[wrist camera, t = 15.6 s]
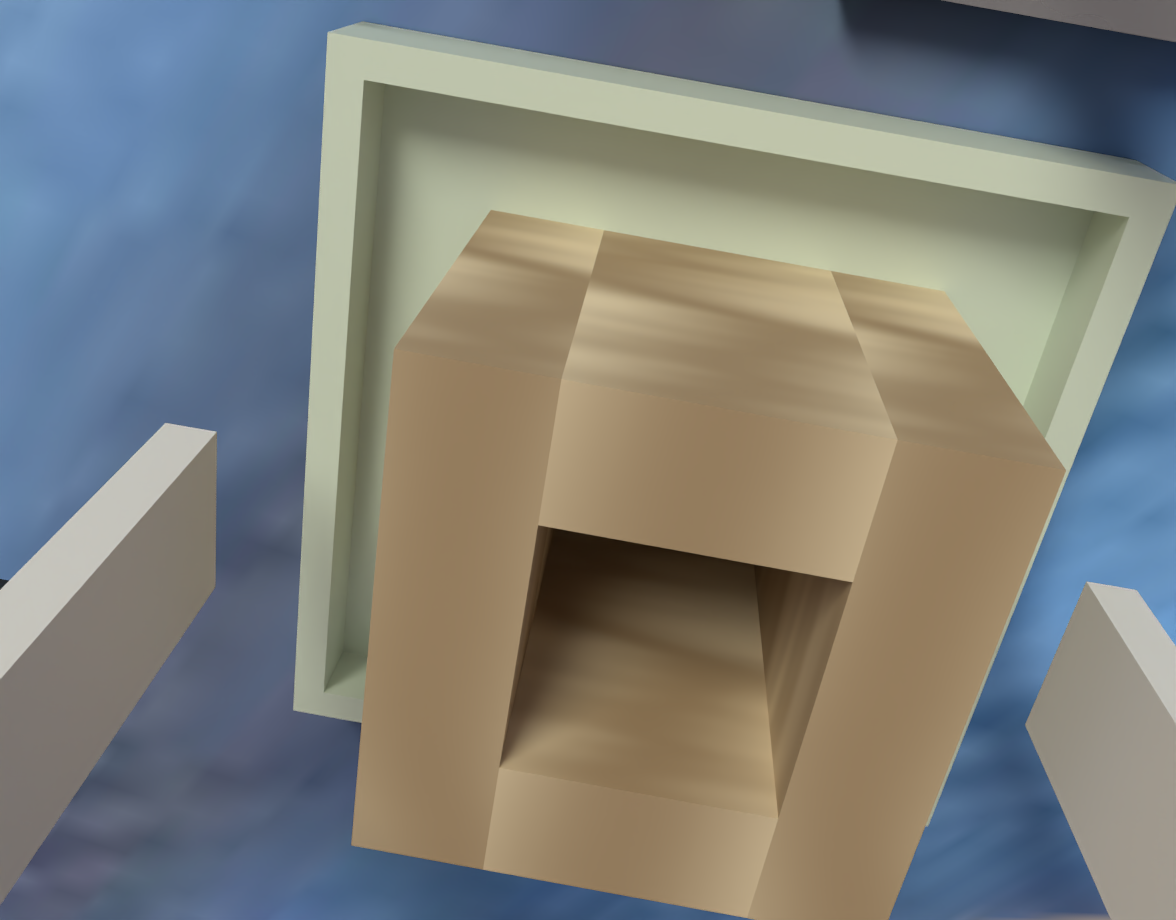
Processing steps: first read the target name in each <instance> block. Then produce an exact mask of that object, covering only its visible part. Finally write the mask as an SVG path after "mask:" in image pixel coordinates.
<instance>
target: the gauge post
mask: <svg viewBox="0 0 1176 920" xmlns="http://www.w3.org/2000/svg"><path fill="white" fill-rule="evenodd" d="M943 1H948V2H954V3H960V4H965V5H971V6H976V7H982V8H988V9H993V10H999V11H1004V12H1010V13H1016V14H1021V15H1027V16H1032V17H1038V18H1044V19H1049V20H1055V21H1060V22H1066V23H1072V24H1077V25H1083V26H1088V27H1094V28H1100V29H1105V30H1111V31H1116V32H1122V33H1128V34H1133V35H1139V36H1144V37H1150V38H1156V39H1161V40H1167V41H1172V42H1176V0H943Z"/></svg>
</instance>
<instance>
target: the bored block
mask: <svg viewBox="0 0 1176 920" xmlns="http://www.w3.org/2000/svg"><path fill="white" fill-rule="evenodd" d="M1065 472H1066V469H1065V468H1064V466H1063V465H1062V463H1061V462H1060V460H1059V459H1058V457H1057V456H1056V454H1055V453H1054V452H1053V450H1052V449H1051V447H1050V446H1049V444H1048V443H1047V441H1046V440H1045V438H1044V437H1043V435H1042V434H1041V432H1040V431H1039V429H1038V428H1037V427H1036V425H1035V424H1034V422H1033V421H1032V419H1031V418H1030V416H1029V415H1028V413H1027V412H1026V410H1025V409H1024V407H1023V406H1022V404H1021V403H1020V402H1019V400H1018V399H1017V397H1016V396H1015V394H1014V393H1013V391H1012V390H1011V388H1010V387H1009V385H1008V384H1007V382H1006V381H1005V379H1004V378H1003V377H1002V375H1001V374H1000V372H999V371H998V369H997V368H996V366H995V365H994V363H993V362H992V360H991V359H990V357H989V356H988V354H987V353H986V352H985V350H984V349H983V347H982V346H981V344H980V343H979V341H978V340H977V338H976V337H975V335H974V334H973V332H972V331H971V329H970V328H969V327H968V325H967V324H966V322H965V321H964V319H963V318H962V316H961V315H960V313H959V312H958V310H957V309H956V307H955V306H954V304H953V303H952V302H951V300H950V299H949V297H948V296H947V294H946V293H945V291H940V290H934V289H929V288H923V287H918V286H912V285H907V284H901V283H896V282H890V281H884V280H879V279H873V278H868V277H862V276H857V275H851V274H845V273H840V272H834V271H829V270H823V269H818V268H812V267H807V266H801V265H795V264H790V263H784V262H779V261H773V260H768V259H762V258H756V257H751V256H745V255H740V254H734V253H729V252H723V251H718V250H712V249H706V248H701V247H695V246H690V245H684V244H679V243H673V242H667V241H662V240H656V239H651V238H645V237H640V236H634V235H629V234H623V233H617V232H612V231H606V230H601V229H595V228H590V227H584V226H578V225H573V224H567V223H562V222H556V221H551V220H545V219H540V218H534V217H528V216H523V215H517V214H512V213H506V212H501V211H495V210H490V212H489V213H488V215H487V216H486V218H485V219H484V220H483V222H482V223H481V225H480V226H479V228H478V229H477V230H476V232H475V233H474V235H473V236H472V238H471V239H470V240H469V242H468V243H467V245H466V246H465V248H464V249H463V251H462V252H461V253H460V255H459V256H458V258H457V259H456V261H455V262H454V263H453V265H452V266H451V268H450V269H449V271H448V272H447V273H446V275H445V276H444V278H443V279H442V281H441V282H440V283H439V285H438V286H437V288H436V289H435V291H434V292H433V293H432V295H431V296H430V298H429V299H428V301H427V302H426V303H425V305H424V306H423V308H422V309H421V311H420V312H419V314H418V315H417V316H416V318H415V319H414V321H413V322H412V324H411V325H410V326H409V328H408V329H407V331H406V332H405V334H404V335H403V336H402V338H401V339H400V341H399V342H398V344H397V345H396V346H395V348H394V353H393V364H392V376H391V388H390V399H389V411H388V423H387V434H386V446H385V458H384V469H383V481H382V493H381V504H380V516H379V528H378V539H377V551H376V563H375V574H374V586H373V598H372V609H371V621H370V633H369V644H368V656H367V668H366V679H365V691H364V703H363V714H362V726H361V738H360V749H359V761H358V773H357V784H356V796H355V808H354V819H353V831H352V843H351V845H352V846H357V847H363V848H368V849H374V850H379V851H385V852H390V853H395V854H401V855H406V856H412V857H417V858H423V859H428V860H434V861H439V862H444V863H450V864H455V865H461V866H466V867H472V868H477V869H483V870H488V871H493V872H499V873H504V874H510V875H515V876H521V877H526V878H532V879H537V880H543V881H548V882H553V883H559V884H564V885H570V886H575V887H581V888H586V889H592V890H597V891H602V892H608V893H613V894H619V895H624V896H630V897H635V898H641V899H646V900H651V901H657V902H662V903H668V904H673V905H679V906H684V907H690V908H695V909H701V910H706V911H711V912H717V913H722V914H728V915H733V916H739V917H744V918H750V919H755V920H888V919H889V917H890V914H891V911H892V909H893V906H894V904H895V901H896V899H897V896H898V894H899V891H900V889H901V886H902V884H903V881H904V879H905V876H906V874H907V871H908V869H909V866H910V864H911V861H912V858H913V856H914V853H915V851H916V848H917V846H918V843H919V841H920V838H921V836H922V833H923V831H924V828H925V826H926V823H927V821H928V818H929V816H930V813H931V811H932V808H933V805H934V803H935V800H936V798H937V795H938V793H939V790H940V788H941V785H942V783H943V780H944V778H945V775H946V773H947V770H948V768H949V765H950V763H951V760H952V757H953V755H954V752H955V750H956V747H957V745H958V742H959V740H960V737H961V735H962V732H963V730H964V727H965V725H966V722H967V720H968V717H969V715H970V712H971V710H972V707H973V704H974V702H975V699H976V697H977V694H978V692H979V689H980V687H981V684H982V682H983V679H984V677H985V674H986V672H987V669H988V667H989V664H990V662H991V659H992V657H993V654H994V651H995V649H996V646H997V644H998V641H999V639H1000V636H1001V634H1002V631H1003V629H1004V626H1005V624H1006V621H1007V619H1008V616H1009V614H1010V611H1011V609H1012V606H1013V604H1014V601H1015V598H1016V596H1017V593H1018V591H1019V588H1020V586H1021V583H1022V581H1023V578H1024V576H1025V573H1026V571H1027V568H1028V566H1029V563H1030V561H1031V558H1032V556H1033V553H1034V551H1035V548H1036V545H1037V543H1038V540H1039V538H1040V535H1041V533H1042V530H1043V528H1044V525H1045V523H1046V520H1047V518H1048V515H1049V513H1050V510H1051V508H1052V505H1053V503H1054V500H1055V498H1056V495H1057V492H1058V490H1059V487H1060V485H1061V482H1062V480H1063V477H1064V475H1065Z"/></svg>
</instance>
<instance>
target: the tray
mask: <svg viewBox="0 0 1176 920" xmlns="http://www.w3.org/2000/svg"><path fill="white" fill-rule="evenodd" d="M1175 205H1176V181H1174V180H1172V179H1170V178H1168V177H1166V176H1165V175H1163V174H1161V173H1159V172H1157V171H1155V170H1153V169H1152V168H1150V167H1148V166H1146V165H1144V164H1142V163H1140V162H1139V161H1137V160H1132V159H1127V158H1121V157H1116V156H1110V155H1105V154H1099V153H1093V152H1088V151H1082V150H1077V149H1071V148H1066V147H1060V146H1054V145H1049V144H1043V143H1038V142H1032V141H1027V140H1021V139H1015V138H1010V137H1004V136H999V135H993V134H987V133H982V132H976V131H971V130H965V129H960V128H954V127H948V126H943V125H937V124H932V123H926V122H921V121H915V120H909V119H904V118H898V117H893V116H887V115H881V114H876V113H870V112H865V111H859V110H854V109H848V108H842V107H837V106H831V105H826V104H820V103H815V102H809V101H803V100H798V99H792V98H787V97H781V96H776V95H770V94H764V93H759V92H753V91H748V90H742V89H736V88H731V87H725V86H720V85H714V84H709V83H703V82H697V81H692V80H686V79H681V78H675V77H670V76H664V75H658V74H653V73H647V72H642V71H636V70H630V69H625V68H619V67H614V66H608V65H603V64H597V63H591V62H586V61H580V60H575V59H569V58H564V57H558V56H552V55H547V54H541V53H536V52H530V51H525V50H519V49H513V48H508V47H502V46H497V45H491V44H485V43H480V42H474V41H469V40H463V39H458V38H452V37H446V36H441V35H435V34H430V33H424V32H419V31H413V30H407V29H402V28H396V27H391V26H385V25H379V24H374V23H368V22H359V23H356V24H353V25H350V26H346V27H343V28H340V29H336V30H333V31H330V32H328V37H327V57H326V76H325V96H324V116H323V136H322V155H321V175H320V195H319V214H318V234H317V254H316V273H315V293H314V313H313V332H312V352H311V372H310V392H309V411H308V431H307V451H306V470H305V490H304V510H303V529H302V549H301V569H300V588H299V608H298V628H297V648H296V667H295V687H294V707H293V710H294V711H300V712H305V713H311V714H316V715H322V716H327V717H332V718H338V719H343V720H349V721H354V722H360V723H362V714H363V703H364V691H365V679H366V668H367V656H368V644H369V633H370V621H371V609H372V598H373V586H374V574H375V563H376V551H377V539H378V528H379V516H380V504H381V493H382V481H383V469H384V458H385V446H386V434H387V423H388V411H389V399H390V388H391V376H392V364H393V353H394V348H395V346H396V345H397V344H398V342H399V341H400V339H401V338H402V336H403V335H404V334H405V332H406V331H407V329H408V328H409V326H410V325H411V324H412V322H413V321H414V319H415V318H416V316H417V315H418V314H419V312H420V311H421V309H422V308H423V306H424V305H425V303H426V302H427V301H428V299H429V298H430V296H431V295H432V293H433V292H434V291H435V289H436V288H437V286H438V285H439V283H440V282H441V281H442V279H443V278H444V276H445V275H446V273H447V272H448V271H449V269H450V268H451V266H452V265H453V263H454V262H455V261H456V259H457V258H458V256H459V255H460V253H461V252H462V251H463V249H464V248H465V246H466V245H467V243H468V242H469V240H470V239H471V238H472V236H473V235H474V233H475V232H476V230H477V229H478V228H479V226H480V225H481V223H482V222H483V220H484V219H485V218H486V216H487V215H488V213H489V212H490V210H495V211H501V212H506V213H512V214H517V215H523V216H528V217H534V218H540V219H545V220H551V221H556V222H562V223H567V224H573V225H578V226H584V227H590V228H595V229H601V230H606V231H612V232H617V233H623V234H629V235H634V236H640V237H645V238H651V239H656V240H662V241H667V242H673V243H679V244H684V245H690V246H695V247H701V248H706V249H712V250H718V251H723V252H729V253H734V254H740V255H745V256H751V257H756V258H762V259H768V260H773V261H779V262H784V263H790V264H795V265H801V266H807V267H812V268H818V269H823V270H829V271H834V272H840V273H845V274H851V275H857V276H862V277H868V278H873V279H879V280H884V281H890V282H896V283H901V284H907V285H912V286H918V287H923V288H929V289H934V290H940V291H945V293H946V294H947V296H948V297H949V299H950V300H951V302H952V303H953V304H954V306H955V307H956V309H957V310H958V312H959V313H960V315H961V316H962V318H963V319H964V321H965V322H966V324H967V325H968V327H969V328H970V329H971V331H972V332H973V334H974V335H975V337H976V338H977V340H978V341H979V343H980V344H981V346H982V347H983V349H984V350H985V352H986V353H987V354H988V356H989V357H990V359H991V360H992V362H993V363H994V365H995V366H996V368H997V369H998V371H999V372H1000V374H1001V375H1002V377H1003V378H1004V379H1005V381H1006V382H1007V384H1008V385H1009V387H1010V388H1011V390H1012V391H1013V393H1014V394H1015V396H1016V397H1017V399H1018V400H1019V402H1020V403H1021V404H1022V406H1023V407H1024V409H1025V410H1026V412H1027V413H1028V415H1029V416H1030V418H1031V419H1032V421H1033V422H1034V424H1035V425H1036V427H1037V428H1038V429H1039V431H1040V432H1041V434H1042V435H1043V437H1044V438H1045V440H1046V441H1047V443H1048V444H1049V446H1050V447H1051V449H1052V450H1053V452H1054V453H1055V454H1056V456H1057V457H1058V459H1059V460H1060V462H1061V463H1062V465H1063V466H1064V468H1065V469H1066V472H1065V475H1064V477H1063V480H1062V482H1061V485H1060V487H1059V490H1058V492H1057V495H1056V498H1055V500H1054V503H1053V505H1052V508H1051V510H1050V513H1049V515H1048V518H1047V520H1046V523H1045V525H1044V528H1043V530H1042V533H1041V535H1040V538H1039V540H1038V543H1037V545H1036V548H1035V551H1034V553H1033V556H1032V558H1031V561H1030V563H1029V566H1028V568H1027V571H1026V573H1025V576H1024V578H1023V581H1022V583H1021V586H1020V588H1019V591H1018V593H1017V596H1016V598H1015V601H1014V604H1013V606H1012V609H1011V611H1010V614H1009V616H1008V619H1007V621H1006V624H1005V626H1004V629H1003V631H1002V634H1001V636H1000V639H999V641H998V644H997V646H996V649H995V651H994V654H993V657H992V659H991V662H990V664H989V667H988V669H987V672H986V674H985V677H984V679H983V682H982V684H981V687H980V689H979V692H978V694H977V697H976V699H975V702H974V704H973V707H972V710H971V712H970V715H969V717H968V720H967V722H966V725H965V727H964V730H963V732H962V735H961V737H960V740H959V742H958V745H957V747H956V750H955V752H954V755H953V757H952V760H951V763H950V765H949V768H948V770H947V773H946V775H945V778H944V780H943V783H942V785H941V788H940V790H939V793H938V795H937V798H936V800H935V803H934V805H933V808H932V811H931V813H930V816H929V818H928V821H927V823H926V826H928V825H929V823H930V820H931V818H932V815H933V813H934V810H935V808H936V805H937V803H938V800H939V798H940V795H941V793H942V790H943V788H944V785H945V783H946V780H947V778H948V775H949V773H950V770H951V768H952V765H953V763H954V760H955V758H956V755H957V753H958V750H959V748H960V745H961V743H962V740H963V737H964V735H965V732H966V730H967V727H968V725H969V722H970V720H971V717H972V715H973V712H974V710H975V707H976V705H977V702H978V700H979V697H980V695H981V692H982V690H983V687H984V685H985V682H986V680H987V677H988V675H989V672H990V670H991V667H992V665H993V662H994V660H995V657H996V655H997V652H998V650H999V647H1000V645H1001V642H1002V640H1003V637H1004V635H1005V632H1006V630H1007V627H1008V625H1009V622H1010V619H1011V617H1012V614H1013V612H1014V609H1015V607H1016V604H1017V602H1018V599H1019V597H1020V594H1021V592H1022V589H1023V587H1024V584H1025V582H1026V579H1027V577H1028V574H1029V572H1030V569H1031V567H1032V564H1033V562H1034V559H1035V557H1036V554H1037V552H1038V549H1039V547H1040V544H1041V542H1042V539H1043V537H1044V534H1045V532H1046V529H1047V527H1048V524H1049V522H1050V519H1051V517H1052V514H1053V512H1054V509H1055V507H1056V504H1057V502H1058V499H1059V496H1060V494H1061V491H1062V489H1063V486H1064V484H1065V481H1066V479H1067V476H1068V474H1069V471H1070V469H1071V466H1072V464H1073V461H1074V459H1075V456H1076V454H1077V451H1078V449H1079V446H1080V444H1081V441H1082V439H1083V436H1084V434H1085V431H1086V429H1087V426H1088V424H1089V421H1090V419H1091V416H1092V414H1093V411H1094V409H1095V406H1096V404H1097V401H1098V399H1099V396H1100V394H1101V391H1102V389H1103V386H1104V384H1105V381H1106V379H1107V376H1108V373H1109V371H1110V368H1111V366H1112V363H1113V361H1114V358H1115V356H1116V353H1117V351H1118V348H1119V346H1120V343H1121V341H1122V338H1123V336H1124V333H1125V331H1126V328H1127V326H1128V323H1129V321H1130V318H1131V316H1132V313H1133V311H1134V308H1135V306H1136V303H1137V301H1138V298H1139V296H1140V293H1141V291H1142V288H1143V286H1144V283H1145V281H1146V278H1147V276H1148V273H1149V271H1150V268H1151V266H1152V263H1153V261H1154V258H1155V256H1156V253H1157V250H1158V248H1159V245H1160V243H1161V240H1162V238H1163V235H1164V233H1165V230H1166V228H1167V225H1168V223H1169V220H1170V218H1171V215H1172V213H1173V210H1174V208H1175Z"/></svg>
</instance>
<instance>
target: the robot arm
mask: <svg viewBox="0 0 1176 920" xmlns="http://www.w3.org/2000/svg"><path fill="white" fill-rule="evenodd" d="M216 464H217V432H214V431H209V430H203V429H197V428H191V427H185V426H180V425H174V424H168V423H165V424H164V425H163V426H162V427H161V428H160V429H159V430H158V431H157V432H156V433H155V434H154V435H153V436H152V437H151V438H150V439H149V440H148V441H147V442H146V443H145V444H144V445H143V446H142V447H141V448H140V449H139V450H138V451H137V452H136V453H135V454H134V455H133V456H132V457H131V458H130V459H129V460H128V461H127V462H126V463H125V465H124V466H123V467H122V468H121V469H120V470H119V471H118V472H117V473H116V474H115V475H114V476H113V477H112V478H111V479H110V480H109V481H108V482H107V483H106V484H105V485H104V486H103V487H102V488H101V489H100V490H99V491H98V492H97V493H96V494H95V495H94V496H93V497H92V498H91V499H90V500H89V501H88V502H87V503H86V504H85V505H84V506H83V507H82V508H81V509H80V510H79V511H78V512H77V513H76V514H75V515H74V516H73V517H72V518H71V519H70V520H69V521H68V522H67V523H66V524H65V525H64V526H63V527H62V528H61V529H60V530H59V531H58V532H57V533H56V534H55V535H54V536H53V537H52V538H51V539H50V540H49V541H48V542H47V543H46V544H45V545H44V546H43V547H42V548H41V549H40V550H39V551H38V552H37V553H36V554H35V555H34V556H33V557H32V558H31V559H30V560H29V561H28V562H27V563H26V564H25V565H24V566H23V567H22V568H21V569H20V570H19V571H18V572H17V573H16V574H15V575H14V576H13V577H12V578H11V579H10V580H9V581H8V580H2V579H0V905H1V903H2V902H3V900H4V899H5V897H6V896H7V894H8V893H9V891H10V890H11V889H12V887H13V886H14V884H15V883H16V881H17V880H18V878H19V877H20V875H21V874H22V872H23V871H24V869H25V868H26V866H27V865H28V863H29V862H30V860H31V859H32V857H33V856H34V854H35V853H36V852H37V850H38V849H39V847H40V846H41V844H42V843H43V841H44V840H45V838H46V837H47V835H48V834H49V832H50V831H51V829H52V828H53V826H54V825H55V823H56V822H57V820H58V819H59V817H60V816H61V815H62V813H63V812H64V810H65V809H66V807H67V806H68V804H69V803H70V801H71V800H72V798H73V797H74V795H75V794H76V792H77V791H78V789H79V788H80V786H81V785H82V783H83V782H84V780H85V779H86V778H87V776H88V775H89V773H90V772H91V770H92V769H93V767H94V766H95V764H96V763H97V761H98V760H99V758H100V757H101V755H102V754H103V752H104V751H105V749H106V748H107V746H108V745H109V743H110V742H111V740H112V739H113V738H114V736H115V735H116V733H117V732H118V730H119V729H120V727H121V726H122V724H123V723H124V721H125V720H126V718H127V717H128V715H129V714H130V712H131V711H132V709H133V708H134V706H135V705H136V703H137V702H138V701H139V699H140V698H141V696H142V695H143V693H144V692H145V690H146V689H147V687H148V686H149V684H150V683H151V681H152V680H153V678H154V677H155V675H156V674H157V672H158V671H159V669H160V668H161V666H162V665H163V664H164V662H165V661H166V659H167V658H168V656H169V655H170V653H171V652H172V650H173V649H174V647H175V646H176V644H177V643H178V641H179V640H180V638H181V637H182V635H183V634H184V632H185V631H186V629H187V628H188V627H189V625H190V624H191V622H192V621H193V619H194V618H195V616H196V615H197V613H198V612H199V610H200V609H201V607H202V606H203V604H204V603H205V601H206V600H207V598H208V597H209V595H210V594H211V592H212V591H213V590H214V588H215V562H216ZM1025 726H1026V728H1027V730H1028V733H1029V735H1030V737H1031V739H1032V742H1033V744H1034V746H1035V749H1036V751H1037V753H1038V755H1039V758H1040V760H1041V762H1042V764H1043V767H1044V769H1045V771H1046V773H1047V776H1048V778H1049V780H1050V783H1051V785H1052V787H1053V789H1054V792H1055V794H1056V796H1057V798H1058V801H1059V803H1060V805H1061V807H1062V810H1063V812H1064V814H1065V817H1066V819H1067V821H1068V823H1069V826H1070V828H1071V830H1072V832H1073V835H1074V837H1075V839H1076V841H1077V844H1078V846H1079V848H1080V851H1081V853H1082V855H1083V857H1084V860H1085V862H1086V864H1087V866H1088V869H1089V871H1090V873H1091V875H1092V878H1093V880H1094V882H1095V885H1096V887H1097V889H1098V891H1099V894H1100V896H1101V898H1102V900H1103V903H1104V905H1105V907H1106V909H1107V912H1108V914H1109V916H1110V919H1111V920H1176V646H1175V645H1174V643H1173V642H1172V640H1171V639H1170V637H1169V636H1168V635H1167V633H1166V632H1165V630H1164V629H1163V627H1162V626H1161V624H1160V623H1159V622H1158V620H1157V619H1156V617H1155V616H1154V614H1153V613H1152V612H1151V610H1150V609H1149V607H1148V606H1147V604H1146V603H1145V601H1144V600H1143V599H1142V597H1141V596H1140V594H1139V593H1138V591H1137V590H1133V589H1127V588H1121V587H1115V586H1110V585H1104V584H1098V583H1092V582H1086V584H1085V586H1084V588H1083V591H1082V593H1081V595H1080V598H1079V600H1078V602H1077V605H1076V607H1075V609H1074V612H1073V614H1072V616H1071V619H1070V621H1069V623H1068V626H1067V628H1066V630H1065V633H1064V635H1063V637H1062V640H1061V642H1060V644H1059V647H1058V649H1057V651H1056V654H1055V656H1054V658H1053V661H1052V663H1051V665H1050V668H1049V670H1048V673H1047V675H1046V677H1045V680H1044V682H1043V684H1042V687H1041V689H1040V691H1039V694H1038V696H1037V698H1036V701H1035V703H1034V705H1033V708H1032V710H1031V712H1030V715H1029V717H1028V719H1027V722H1026V724H1025Z"/></svg>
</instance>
